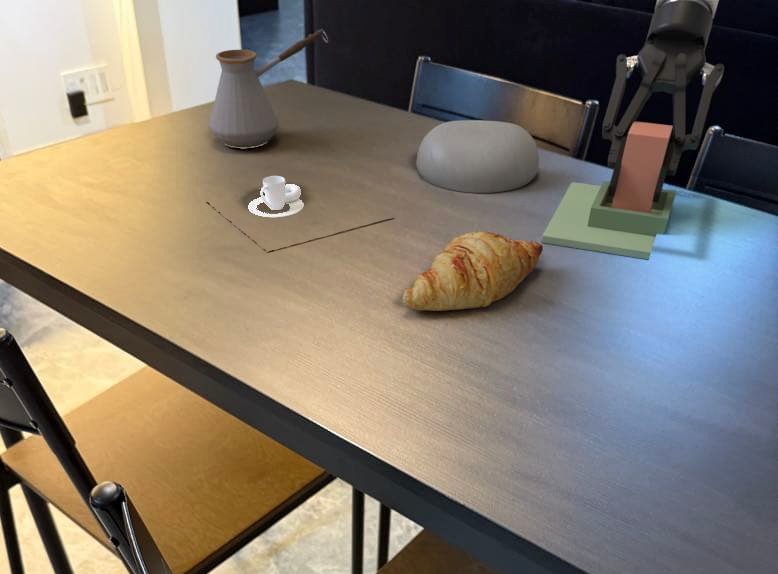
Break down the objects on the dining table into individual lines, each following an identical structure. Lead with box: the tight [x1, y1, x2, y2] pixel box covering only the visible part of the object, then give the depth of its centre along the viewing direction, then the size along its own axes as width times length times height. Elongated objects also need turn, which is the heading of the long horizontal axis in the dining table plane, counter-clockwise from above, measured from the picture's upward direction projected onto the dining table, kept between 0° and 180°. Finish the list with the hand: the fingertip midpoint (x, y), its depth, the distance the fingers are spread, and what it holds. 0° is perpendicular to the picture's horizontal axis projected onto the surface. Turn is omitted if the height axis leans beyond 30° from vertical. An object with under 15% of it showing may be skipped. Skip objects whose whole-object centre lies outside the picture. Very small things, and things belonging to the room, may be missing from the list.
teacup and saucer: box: [248, 175, 304, 218], centre depth 108 cm, size 9×8×4 cm
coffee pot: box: [208, 28, 330, 147], centre depth 125 cm, size 21×12×15 cm, turn 115°
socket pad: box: [541, 180, 677, 260], centre depth 104 cm, size 20×20×4 cm
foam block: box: [612, 120, 673, 213], centre depth 100 cm, size 5×5×10 cm
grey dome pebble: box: [415, 119, 540, 194], centre depth 116 cm, size 19×7×16 cm
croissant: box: [402, 230, 543, 312], centre depth 90 cm, size 21×10×8 cm, turn 127°
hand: (633, 194), depth 99 cm, fingers closed on foam block, 5 cm apart
